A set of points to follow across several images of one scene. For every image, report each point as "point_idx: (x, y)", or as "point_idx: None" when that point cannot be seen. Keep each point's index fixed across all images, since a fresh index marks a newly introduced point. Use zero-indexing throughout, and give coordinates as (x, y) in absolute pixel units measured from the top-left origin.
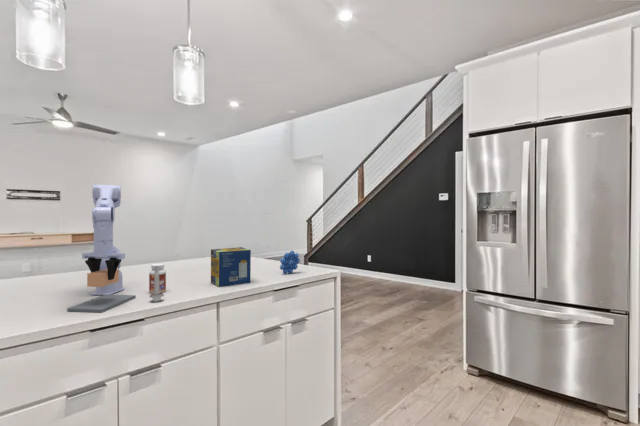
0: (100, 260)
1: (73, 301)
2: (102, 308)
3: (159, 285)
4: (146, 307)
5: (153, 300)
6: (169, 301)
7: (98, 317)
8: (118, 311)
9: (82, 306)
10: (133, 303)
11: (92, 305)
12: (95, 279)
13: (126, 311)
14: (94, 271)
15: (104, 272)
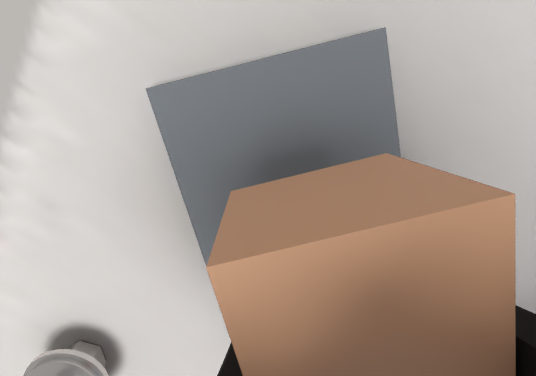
0: None
1: (515, 201)
2: (165, 109)
3: None
4: (16, 255)
5: (85, 347)
6: (14, 371)
7: (75, 6)
8: (86, 144)
9: (329, 98)
10: (158, 284)
11: (288, 137)
12: (308, 199)
13: (42, 160)
14: (523, 364)
15: (279, 373)
